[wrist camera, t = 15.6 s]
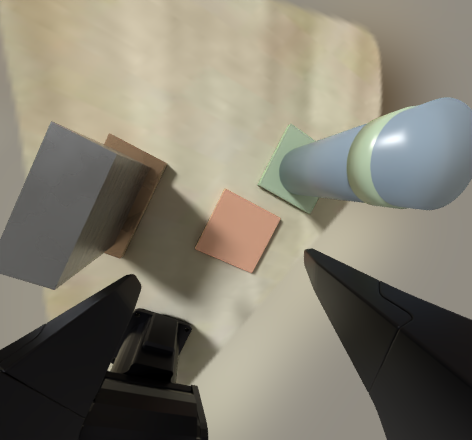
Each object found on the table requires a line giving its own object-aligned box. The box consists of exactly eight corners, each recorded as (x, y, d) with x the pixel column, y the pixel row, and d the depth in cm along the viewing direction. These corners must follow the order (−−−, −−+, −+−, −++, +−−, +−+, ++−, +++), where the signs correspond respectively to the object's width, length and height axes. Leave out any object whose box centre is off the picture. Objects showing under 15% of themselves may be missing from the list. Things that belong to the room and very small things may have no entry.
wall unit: (123, 254, 19) (67, 311, 11) (69, 234, 18) (-46, 280, 9) (167, 164, 19) (144, 146, 10) (114, 136, 17) (35, 88, 9)
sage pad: (307, 213, 23) (310, 213, 22) (257, 184, 21) (259, 184, 20) (336, 159, 22) (340, 158, 22) (288, 125, 21) (290, 123, 20)
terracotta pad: (250, 270, 23) (251, 273, 22) (194, 247, 21) (194, 249, 20) (278, 217, 22) (281, 218, 22) (224, 188, 20) (225, 188, 20)
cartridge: (298, 205, 22) (423, 233, 10) (268, 170, 20) (372, 152, 8) (330, 172, 22) (496, 160, 10) (303, 135, 20) (457, 67, 8)
